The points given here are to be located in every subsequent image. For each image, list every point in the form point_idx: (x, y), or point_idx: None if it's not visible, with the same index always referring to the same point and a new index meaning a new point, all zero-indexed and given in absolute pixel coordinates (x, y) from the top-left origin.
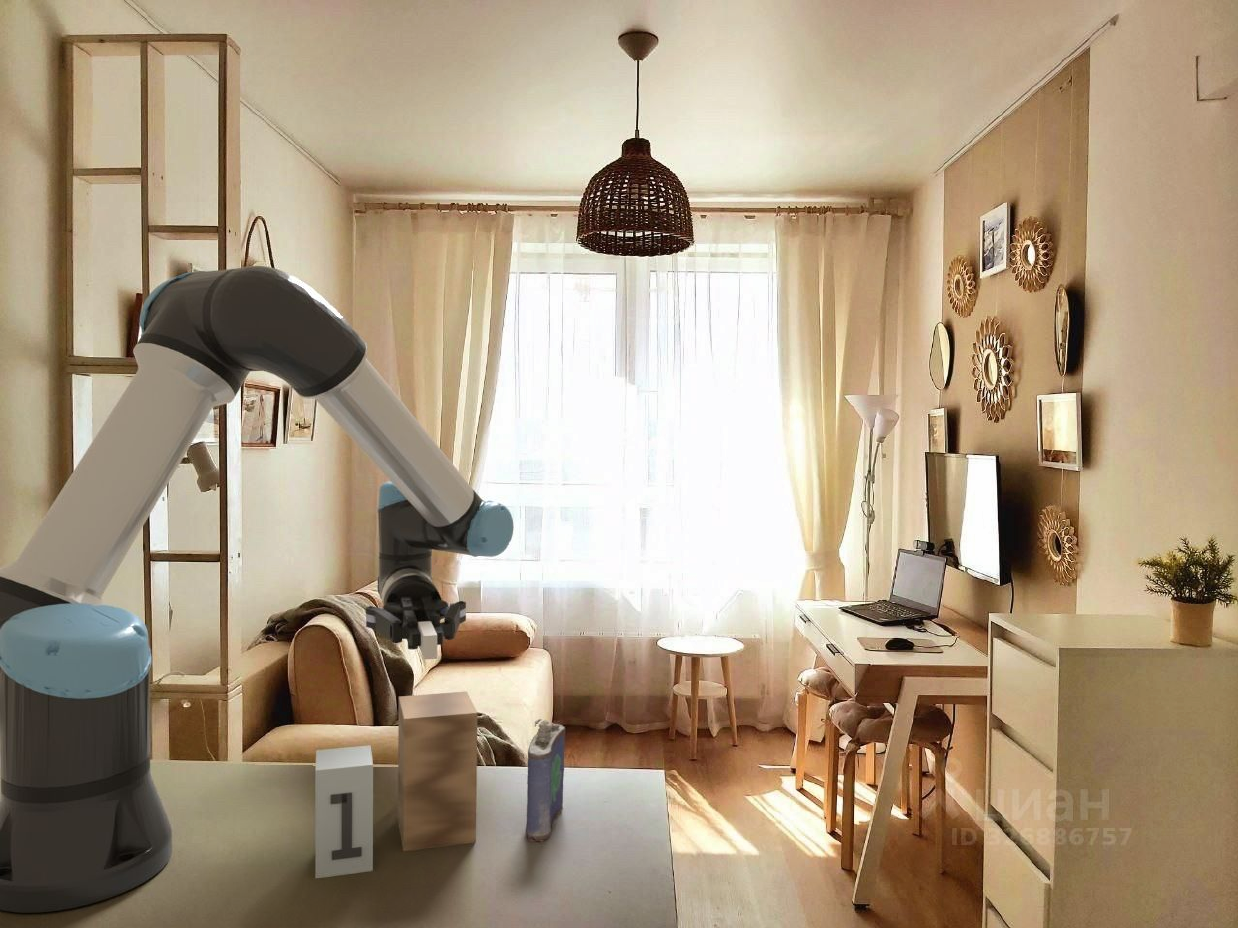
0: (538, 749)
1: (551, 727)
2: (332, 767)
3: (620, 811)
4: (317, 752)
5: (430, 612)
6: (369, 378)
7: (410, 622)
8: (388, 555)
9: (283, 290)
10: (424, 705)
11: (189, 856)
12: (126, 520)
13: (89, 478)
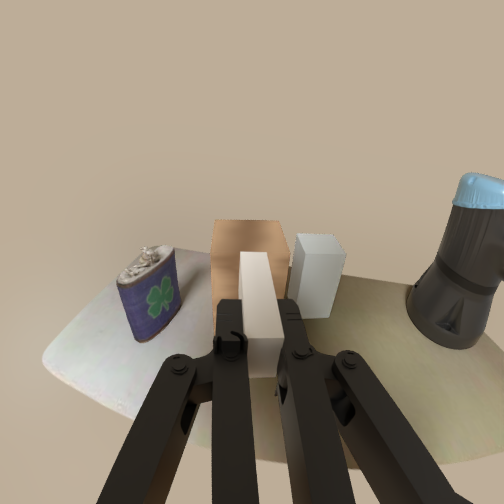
0: (164, 250)
1: (135, 266)
2: (323, 235)
3: (102, 316)
4: (343, 251)
5: (235, 470)
6: None
7: (307, 346)
8: None
9: None
10: (261, 234)
11: (403, 322)
12: None
13: None
